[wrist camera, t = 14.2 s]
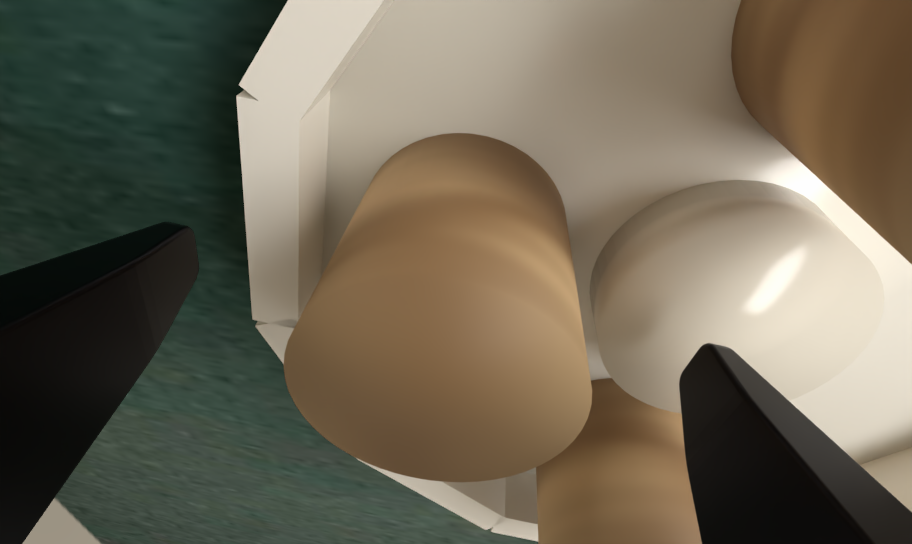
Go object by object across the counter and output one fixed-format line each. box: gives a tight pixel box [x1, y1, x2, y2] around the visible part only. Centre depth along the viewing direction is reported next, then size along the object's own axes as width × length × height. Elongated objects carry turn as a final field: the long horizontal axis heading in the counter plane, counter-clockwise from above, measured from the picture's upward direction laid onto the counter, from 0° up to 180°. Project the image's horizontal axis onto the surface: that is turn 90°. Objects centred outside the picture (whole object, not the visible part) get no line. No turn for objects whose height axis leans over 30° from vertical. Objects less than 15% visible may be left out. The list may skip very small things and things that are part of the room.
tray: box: [236, 0, 912, 541], centre depth 11 cm, size 19×19×3 cm
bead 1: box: [284, 133, 592, 482], centre depth 9 cm, size 4×4×4 cm
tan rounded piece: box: [536, 378, 702, 544], centre depth 12 cm, size 4×4×4 cm
